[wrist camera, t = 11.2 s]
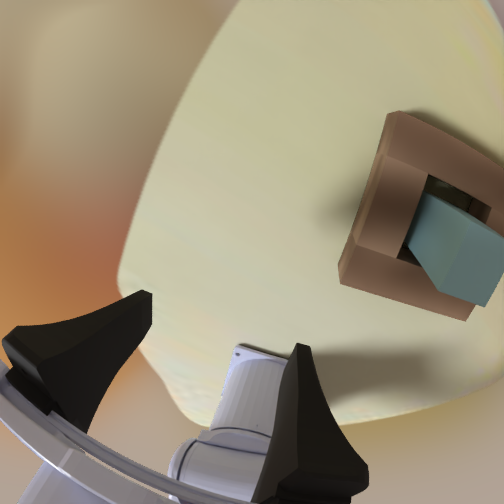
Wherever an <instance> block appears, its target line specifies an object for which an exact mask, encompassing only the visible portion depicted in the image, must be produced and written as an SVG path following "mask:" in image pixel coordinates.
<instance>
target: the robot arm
mask: <svg viewBox="0 0 504 504" xmlns="http://www.w3.org/2000/svg"><path fill="white" fill-rule="evenodd" d="M151 325H152V293H149V292H147V291H144V290H140V291H137V292H135V293H133V294H131V295H129V296H127V297H125V298H123V299H121V300H119V301H117V302H115V303H113V304H110V305H108V306H106V307H104V308H101V309H99V310H96V311H94V312H92V313H89V314H86V315H83V316H80V317H77V318H74V319H70V320H66V321H61V322H56V323H51V324H44V325H32V326H16V327H15V328H14V329H13V330H12V331H11V332H10V333H9V334H8V335H6V336H5V337H4V338H3V339H2V346H3V348H4V350H5V352H6V354H7V356H8V358H9V360H10V362H11V364H12V366H13V367H12V368H11V369H9V368H8V367H7V366H6V364H5V363H4V362H3V361H2V360H1V359H0V420H1V422H2V423H3V424H4V425H5V426H6V427H7V428H8V429H9V430H10V431H11V432H12V433H13V434H14V435H15V436H16V437H17V438H18V439H19V440H20V441H21V442H23V443H24V444H25V445H26V446H27V447H28V448H29V449H30V450H31V451H33V452H34V453H35V454H36V455H37V456H38V457H40V458H41V459H42V460H43V461H44V463H43V464H42V465H41V467H40V468H39V470H38V471H37V473H36V474H35V476H34V477H33V479H32V480H31V482H30V483H29V485H28V486H27V488H26V490H25V491H24V493H23V494H22V496H21V497H20V499H19V501H18V502H17V504H350V503H351V497H352V496H354V495H356V494H358V493H360V492H362V491H364V490H365V489H366V488H367V487H368V486H369V471H368V465H367V464H366V463H365V462H364V461H363V459H362V458H361V457H360V456H359V455H358V454H357V453H356V451H355V450H354V449H353V447H352V446H351V445H350V443H349V442H348V441H347V439H346V437H345V436H344V434H343V433H342V431H341V429H340V428H339V426H338V424H337V423H336V421H335V419H334V417H333V415H332V413H331V411H330V409H329V406H328V404H327V402H326V399H325V397H324V394H323V391H322V389H321V386H320V383H319V379H318V376H317V373H316V369H315V365H314V361H313V357H312V353H311V348H310V346H307V345H304V344H300V343H296V345H295V348H294V350H293V352H292V354H291V356H290V358H289V360H286V359H283V358H279V357H276V356H273V355H269V354H266V353H263V352H259V351H256V350H253V349H250V348H247V347H244V346H240V345H237V346H235V348H234V351H233V355H232V359H231V362H230V366H229V369H228V373H227V377H226V380H225V384H224V387H223V391H222V394H221V396H222V398H221V400H220V403H219V405H218V408H217V410H216V413H215V415H214V418H213V420H212V423H211V425H210V428H209V430H201V432H200V435H199V437H198V439H197V438H189V439H188V440H186V441H185V442H183V443H182V444H181V445H180V446H179V447H178V448H177V449H176V451H175V453H174V454H173V456H172V459H171V461H170V465H169V468H168V475H167V476H165V475H163V474H161V473H158V472H156V471H154V470H151V469H149V468H147V467H145V466H143V465H141V464H138V463H137V462H134V461H133V460H130V459H128V458H127V457H125V456H123V455H121V454H119V453H117V452H115V451H113V450H112V449H110V448H108V447H106V446H105V445H103V444H101V443H100V442H98V441H96V440H95V439H93V438H92V437H90V436H88V435H87V432H88V429H89V426H90V424H91V422H92V419H93V417H94V415H95V412H96V410H97V408H98V406H99V404H100V402H101V400H102V398H103V396H104V394H105V393H106V391H107V389H108V387H109V385H110V384H111V382H112V380H113V379H114V377H115V375H116V374H117V372H118V371H119V369H120V368H121V367H122V366H123V364H124V363H125V362H126V361H127V359H128V358H129V357H130V356H131V354H132V353H133V351H134V350H135V349H136V348H137V347H138V345H139V344H140V343H141V341H142V340H143V339H144V337H145V335H146V334H147V332H148V330H149V329H150V327H151ZM238 353H240V354H238ZM75 444H76V445H75ZM78 446H79V447H80V448H82V449H83V450H85V451H86V452H88V453H89V454H91V455H93V456H94V457H96V458H98V459H99V460H101V461H102V462H104V463H106V464H108V465H109V466H111V467H113V468H115V469H117V470H119V471H120V472H122V473H124V474H126V475H128V476H130V477H132V478H134V479H136V480H138V481H140V482H142V483H144V484H147V485H149V486H151V487H153V488H156V489H158V490H160V491H163V492H165V493H168V494H169V499H168V498H166V497H164V496H161V495H159V494H157V493H155V492H153V491H151V490H149V489H147V488H145V487H143V486H141V485H139V484H137V483H134V482H133V481H130V480H128V479H127V478H125V477H123V476H121V475H119V474H117V473H115V472H113V471H112V470H110V469H108V468H106V467H104V466H103V465H101V464H100V463H98V462H96V461H94V460H93V459H91V458H90V457H88V456H86V454H85V452H84V451H83V450H82V449H80V448H79V447H78Z"/></svg>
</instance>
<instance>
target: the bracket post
mask: <svg viewBox="0 0 504 504" xmlns="http://www.w3.org/2000/svg"><path fill="white" fill-rule="evenodd" d="M404 242H405V243H406V244H407V246H408V247H409V249H410V250H411V251H412V253H413V254H414V256H415V257H416V258H417V260H418V261H419V263H420V264H421V266H422V267H423V269H424V270H425V271H426V273H427V274H428V276H429V278H430V279H431V281H432V282H433V284H434V285H435V287H436V288H437V290H438V291H439V292H442V293H445V294H448V295H451V296H454V297H457V298H460V299H462V300H465V301H468V302H471V303H474V304H476V305H479V306H482V307H485V306H486V304H487V302H488V301H489V299H490V297H491V295H492V294H493V292H494V290H495V288H496V286H497V284H498V282H499V281H500V279H501V277H502V275H503V273H504V237H502V236H501V235H500V234H498V233H497V232H496V231H494V230H493V229H491V228H490V227H488V226H487V225H485V224H484V223H482V222H481V221H479V220H478V219H476V218H475V217H473V216H472V215H470V214H469V213H467V212H466V211H464V210H462V209H461V208H459V207H457V206H455V205H453V204H451V203H449V202H447V201H445V200H443V199H441V198H439V197H437V196H435V195H433V194H430V193H428V192H426V191H424V190H423V191H422V194H421V197H420V200H419V203H418V205H417V208H416V211H415V213H414V216H413V219H412V221H411V224H410V226H409V229H408V231H407V234H406V236H405V239H404Z"/></svg>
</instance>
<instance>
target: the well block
mask: <svg viewBox="0 0 504 504" xmlns="http://www.w3.org/2000/svg"><path fill="white" fill-rule="evenodd" d="M428 175H430V176H432V177H434V178H436V179H439V180H441V181H443V182H445V183H447V184H449V185H451V186H452V187H454V188H456V189H458V190H460V191H462V192H464V193H466V194H468V195H469V196H471V197H473V199H472V202H471V204H470V207H469V210H468V213H469V214H470V215H472V216H473V217H475V218H476V219H478V220H479V221H481V222H482V223H484V224H485V225H487V226H488V227H490V228H491V229H493V230H494V231H496V232H497V233H498V234H500V235H501V236H502V237H504V169H503V168H502V167H500V166H499V165H498V164H496V163H495V162H493V161H492V160H490V159H489V158H487V157H486V156H484V155H483V154H481V153H480V152H478V151H476V150H475V149H473V148H471V147H470V146H468V145H466V144H465V143H463V142H461V141H460V140H458V139H456V138H454V137H453V136H451V135H449V134H447V133H445V132H443V131H441V130H439V129H438V128H436V127H434V126H432V125H430V124H428V123H426V122H424V121H421V120H419V119H417V118H415V117H413V116H411V115H408V114H406V113H404V112H402V111H395V112H392V113H389V114H387V116H386V120H385V124H384V128H383V132H382V135H381V139H380V143H379V146H378V150H377V153H376V156H375V160H374V163H373V166H372V170H371V173H370V176H369V179H368V182H367V185H366V189H365V192H364V195H363V198H362V201H361V203H360V206H359V209H358V212H357V215H356V218H355V221H354V223H353V226H352V229H351V232H350V234H349V237H348V240H347V242H346V245H345V247H344V250H343V253H342V255H341V258H340V260H339V263H338V271H339V279H340V284H342V285H346V286H349V287H352V288H356V289H359V290H362V291H365V292H369V293H372V294H375V295H379V296H382V297H385V298H389V299H392V300H395V301H399V302H402V303H405V304H408V305H412V306H415V307H418V308H422V309H425V310H428V311H432V312H435V313H438V314H442V315H445V316H448V317H452V318H455V319H459V320H462V321H465V322H466V320H467V318H468V317H469V315H470V314H471V312H472V310H473V309H474V307H475V305H476V304H474V303H471V302H468V301H465V300H462V299H460V298H457V297H454V296H451V295H448V294H445V293H442V292H439V291H438V290H437V288H436V287H435V285H434V284H433V282H432V281H431V279H430V278H429V276H428V274H427V273H426V271H425V270H424V269H423V267H422V266H421V264H420V263H419V261H418V260H417V258H416V257H415V256H414V254H413V253H412V251H410V250H407V249H405V248H402V247H401V246H402V243H403V241H404V239H405V236H406V234H407V231H408V229H409V226H410V224H411V221H412V219H413V216H414V213H415V211H416V208H417V205H418V203H419V200H420V197H421V194H422V191H423V188H424V185H425V182H426V179H427V176H428Z"/></svg>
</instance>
